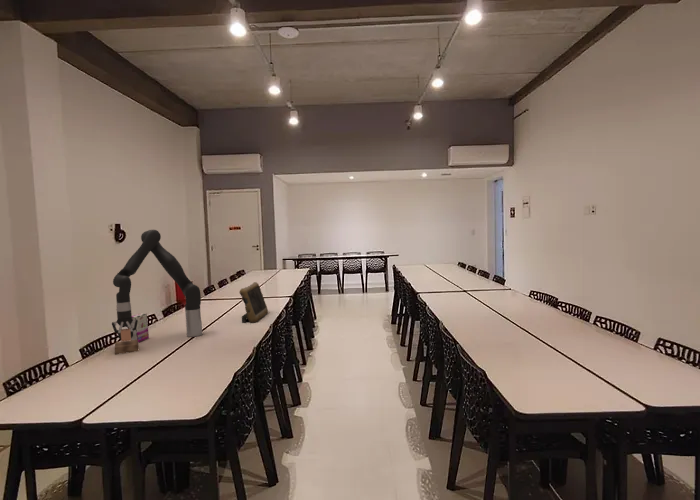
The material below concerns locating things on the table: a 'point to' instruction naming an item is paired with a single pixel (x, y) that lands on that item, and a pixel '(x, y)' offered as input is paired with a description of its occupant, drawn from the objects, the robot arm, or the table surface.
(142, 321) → the candy bar box
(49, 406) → the table surface
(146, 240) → the robot arm
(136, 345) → the walnut base
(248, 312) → the tablet
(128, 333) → the terracotta block
